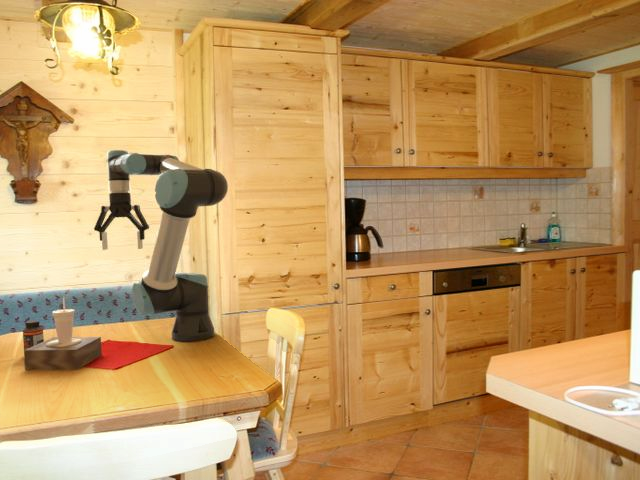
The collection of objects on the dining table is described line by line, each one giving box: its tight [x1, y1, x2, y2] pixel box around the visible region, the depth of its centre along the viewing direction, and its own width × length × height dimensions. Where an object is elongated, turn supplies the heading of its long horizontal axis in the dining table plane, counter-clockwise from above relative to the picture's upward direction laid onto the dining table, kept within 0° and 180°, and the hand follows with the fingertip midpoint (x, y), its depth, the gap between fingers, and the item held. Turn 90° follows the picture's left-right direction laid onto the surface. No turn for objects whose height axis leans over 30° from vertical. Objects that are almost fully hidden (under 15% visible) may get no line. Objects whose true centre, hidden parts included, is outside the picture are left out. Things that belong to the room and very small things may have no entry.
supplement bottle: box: [22, 319, 45, 351], centre depth 186 cm, size 6×6×11 cm
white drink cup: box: [51, 296, 76, 343], centre depth 176 cm, size 6×6×14 cm
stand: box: [23, 336, 103, 371], centre depth 176 cm, size 16×16×6 cm
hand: (122, 249), depth 214 cm, fingers open, 13 cm apart
